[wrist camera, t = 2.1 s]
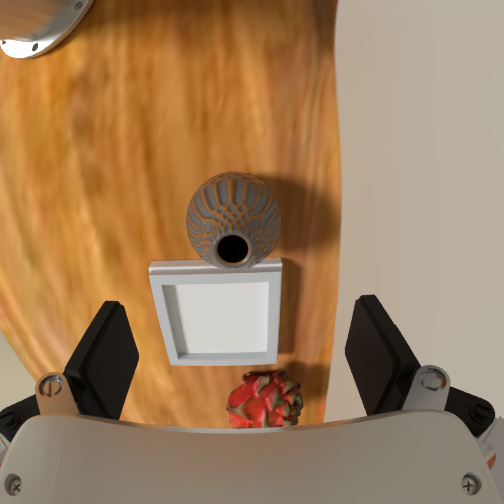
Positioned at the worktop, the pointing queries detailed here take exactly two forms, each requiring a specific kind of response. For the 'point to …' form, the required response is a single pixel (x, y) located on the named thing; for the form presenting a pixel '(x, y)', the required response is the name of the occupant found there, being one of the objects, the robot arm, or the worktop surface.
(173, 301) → the baseplate
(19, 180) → the worktop surface
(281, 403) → the dragon fruit
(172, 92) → the worktop surface
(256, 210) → the vase
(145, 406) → the worktop surface
